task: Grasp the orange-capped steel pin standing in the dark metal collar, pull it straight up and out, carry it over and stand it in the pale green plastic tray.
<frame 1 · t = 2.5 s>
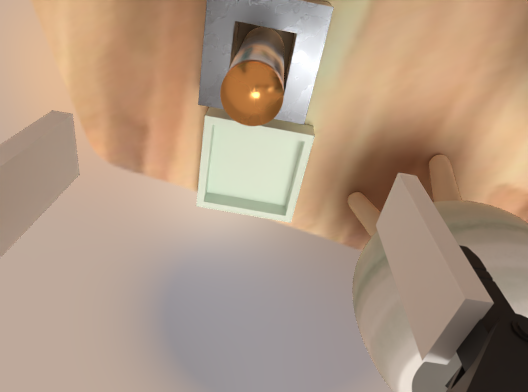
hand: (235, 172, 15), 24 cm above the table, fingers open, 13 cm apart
planter: (403, 196, 43), on the table
tray: (253, 162, 41), on the table
pin: (258, 68, 29), in the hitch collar
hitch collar: (263, 49, 35), on the table
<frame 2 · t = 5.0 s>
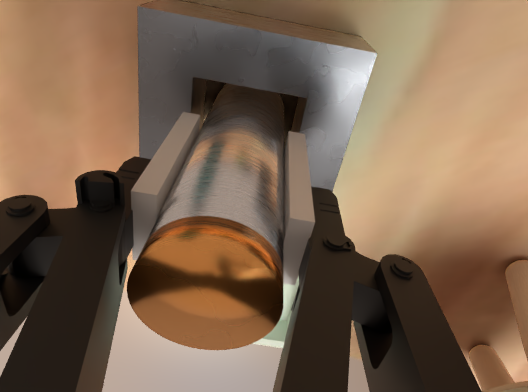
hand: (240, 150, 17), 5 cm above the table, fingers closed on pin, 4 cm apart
planter: (459, 307, 29), on the table
tray: (238, 264, 28), on the table
pin: (235, 170, 15), in the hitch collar, touching gripper
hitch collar: (249, 111, 21), on the table
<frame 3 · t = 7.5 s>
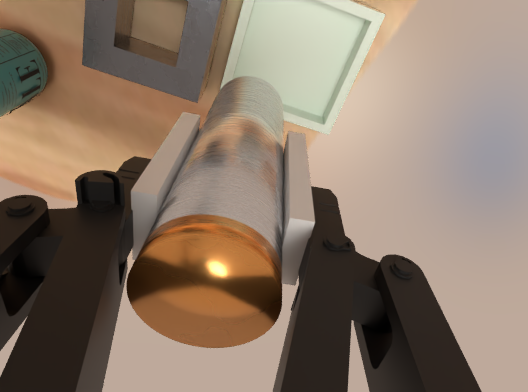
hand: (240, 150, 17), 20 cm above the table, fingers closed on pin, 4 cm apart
tray: (294, 52, 34), on the table
pin: (235, 169, 15), point 22 cm above the table, touching gripper
beverage bottle: (26, 59, 35), on the table
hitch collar: (163, 17, 32), on the table
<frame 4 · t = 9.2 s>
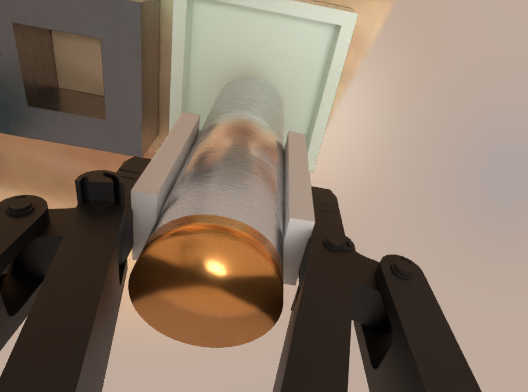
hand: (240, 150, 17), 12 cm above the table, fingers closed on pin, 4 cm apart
tray: (255, 76, 27), on the table
pin: (236, 169, 15), point 14 cm above the table, touching gripper
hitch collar: (90, 59, 27), on the table
when the fingers open (7 cm above the table, at t = 10.4 s): pin stays where it is, resting on tray.
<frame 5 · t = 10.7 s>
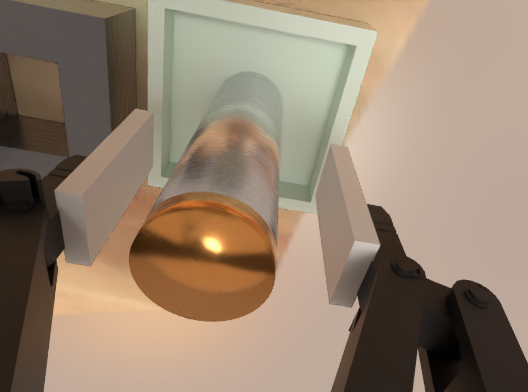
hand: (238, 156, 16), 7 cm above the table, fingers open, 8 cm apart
tray: (251, 103, 22), on the table
pin: (234, 158, 16), in the tray, point 8 cm above the table
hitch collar: (53, 82, 22), on the table
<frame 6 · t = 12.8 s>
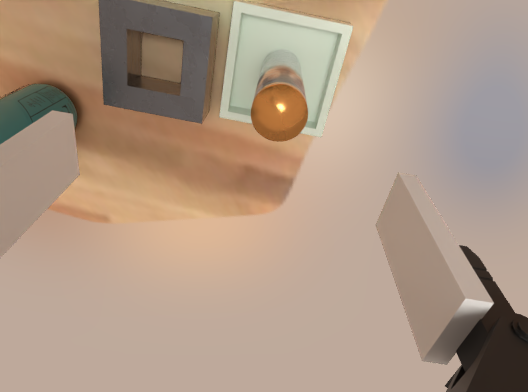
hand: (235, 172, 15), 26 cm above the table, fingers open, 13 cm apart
tray: (281, 68, 38), on the table
pin: (280, 88, 32), in the tray, point 8 cm above the table
beverage bottle: (59, 106, 42), on the table
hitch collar: (166, 55, 38), on the table
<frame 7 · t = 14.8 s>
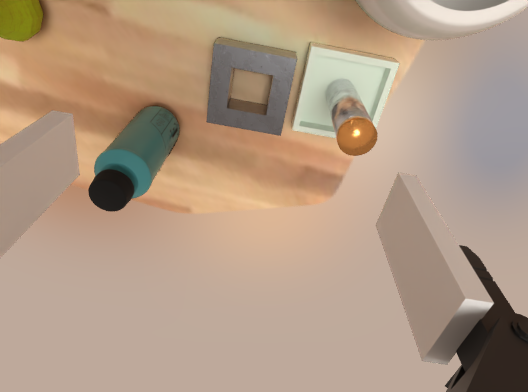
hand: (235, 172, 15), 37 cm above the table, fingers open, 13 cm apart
tray: (340, 92, 50), on the table
pin: (347, 112, 43), in the tray, point 8 cm above the table
beverage bottle: (162, 121, 54), on the table
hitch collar: (251, 83, 50), on the table
fruit: (28, 8, 46), on the table
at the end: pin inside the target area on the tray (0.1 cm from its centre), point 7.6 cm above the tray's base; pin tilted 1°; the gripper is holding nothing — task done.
